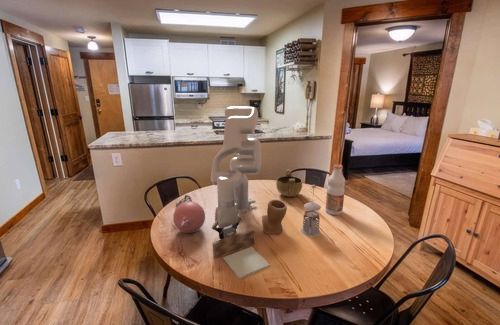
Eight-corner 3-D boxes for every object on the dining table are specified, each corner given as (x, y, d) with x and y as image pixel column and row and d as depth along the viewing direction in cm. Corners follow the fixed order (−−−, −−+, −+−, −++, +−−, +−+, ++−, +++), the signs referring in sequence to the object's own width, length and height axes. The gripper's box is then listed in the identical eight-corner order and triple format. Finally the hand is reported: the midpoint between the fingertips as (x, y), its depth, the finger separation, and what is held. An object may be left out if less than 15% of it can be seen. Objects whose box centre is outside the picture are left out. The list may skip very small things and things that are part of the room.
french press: (321, 228, 132) (325, 182, 125) (319, 240, 121) (323, 191, 114) (302, 224, 135) (304, 180, 128) (298, 236, 125) (301, 188, 117)
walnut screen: (252, 242, 120) (252, 228, 118) (254, 243, 119) (254, 230, 117) (213, 256, 110) (212, 242, 108) (214, 258, 109) (214, 244, 107)
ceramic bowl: (304, 202, 161) (305, 180, 157) (277, 202, 161) (277, 179, 157) (299, 188, 182) (300, 168, 178) (275, 188, 183) (275, 168, 178)
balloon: (165, 244, 119) (162, 214, 115) (181, 222, 138) (178, 195, 134) (197, 246, 118) (195, 215, 113) (209, 223, 137) (207, 197, 132)
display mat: (251, 248, 116) (251, 246, 115) (269, 266, 104) (269, 264, 104) (223, 258, 109) (223, 257, 108) (239, 279, 97) (239, 277, 97)
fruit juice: (323, 207, 154) (327, 162, 146) (339, 208, 153) (344, 163, 145) (327, 215, 145) (331, 168, 137) (344, 215, 144) (349, 168, 136)
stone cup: (287, 236, 125) (288, 208, 121) (262, 235, 125) (263, 208, 121) (283, 220, 140) (284, 195, 135) (261, 220, 140) (262, 194, 136)
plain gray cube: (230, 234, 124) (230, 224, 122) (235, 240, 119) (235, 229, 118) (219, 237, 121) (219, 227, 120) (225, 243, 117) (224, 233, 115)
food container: (187, 221, 139) (186, 204, 136) (177, 220, 140) (175, 203, 137) (196, 211, 150) (195, 195, 147) (186, 210, 151) (185, 194, 149)
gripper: (239, 195, 122) (239, 228, 128) (205, 203, 114) (207, 239, 119) (247, 201, 116) (247, 235, 121) (212, 210, 107) (214, 247, 113)
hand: (227, 237), depth 120 cm, fingers closed on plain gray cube, 5 cm apart
